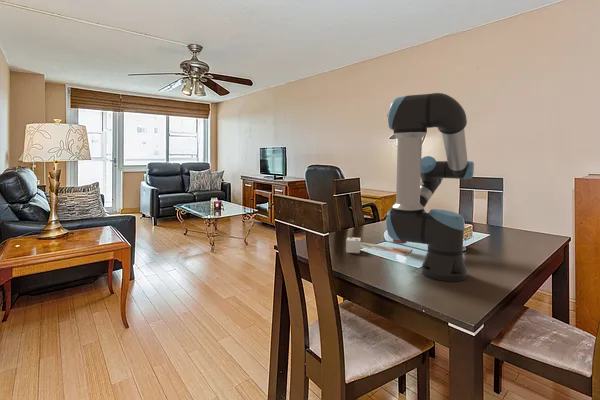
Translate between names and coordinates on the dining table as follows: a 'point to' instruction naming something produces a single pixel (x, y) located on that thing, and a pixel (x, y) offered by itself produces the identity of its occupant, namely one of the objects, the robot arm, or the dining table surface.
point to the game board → (385, 248)
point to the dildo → (399, 241)
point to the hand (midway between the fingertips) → (393, 236)
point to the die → (353, 245)
